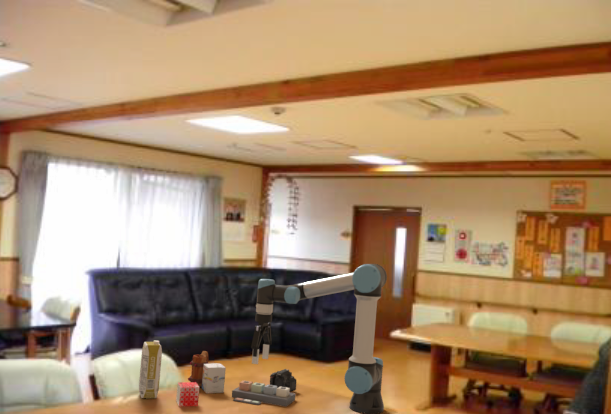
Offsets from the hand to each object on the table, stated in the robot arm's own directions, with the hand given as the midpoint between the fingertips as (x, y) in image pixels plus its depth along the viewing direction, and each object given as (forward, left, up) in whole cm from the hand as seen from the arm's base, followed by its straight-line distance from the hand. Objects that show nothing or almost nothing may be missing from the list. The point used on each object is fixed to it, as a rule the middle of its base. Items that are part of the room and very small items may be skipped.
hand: (260, 361), depth 273 cm
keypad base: (-3, 0, -16) cm, 17 cm away
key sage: (0, 0, -14) cm, 14 cm away
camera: (-5, -19, -17) cm, 26 cm away
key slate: (-6, 0, -14) cm, 15 cm away
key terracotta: (+6, 0, -14) cm, 15 cm away
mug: (+32, -5, -17) cm, 36 cm away
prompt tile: (+1, +9, -16) cm, 19 cm away
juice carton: (+41, +25, -17) cm, 51 cm away
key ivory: (-12, 0, -14) cm, 18 cm away
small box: (+22, +25, -17) cm, 37 cm away
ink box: (+22, +1, -17) cm, 28 cm away
